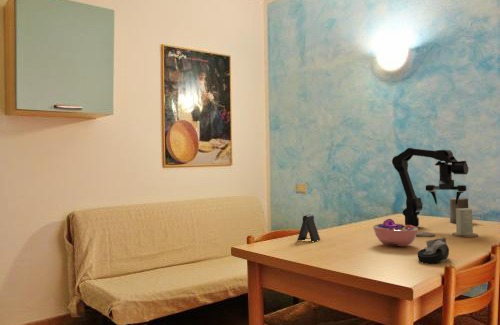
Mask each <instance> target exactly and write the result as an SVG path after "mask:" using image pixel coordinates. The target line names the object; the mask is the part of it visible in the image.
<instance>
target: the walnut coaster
mask: <svg viewBox="0 0 500 325" xmlns="http://www.w3.org/2000/svg"><path fill="white" fill-rule="evenodd" d="M452 236H453V237H457V238H467V239H468V238H477V237H479V235H478V233H474V232H473V235H459V234H457V231H456V232H452Z"/></svg>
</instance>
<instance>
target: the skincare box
mask: <svg viewBox="0 0 500 325" xmlns="http://www.w3.org/2000/svg"><path fill="white" fill-rule="evenodd" d="M455 224H456V225H455V226H456V232H457V234H459V235H473V233H474V229H473V228H474V227H473V226H474V225H473V224H474V223H473V209H472V208H469V207H468V208H457V209H456V223H455Z"/></svg>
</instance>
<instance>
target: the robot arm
mask: <svg viewBox="0 0 500 325" xmlns="http://www.w3.org/2000/svg"><path fill="white" fill-rule="evenodd" d="M414 156H417V157H424V158H426V157H427V158H432V159H434V160H437V162H436V163H435V164H434V165H435V166H438V167H439V172H438V173H439V180H438V185H436V184H427V185H425V191H426V192H427V191H428V193H430V194H431V196H432V197H433V201H434V203H435V205H438V199H437V190H438V191H439V190H443V191H444V190H445V191H448V190H450V191H453V190H454V191H456V197H455V198H456V205H457V202H458V199H459V198H460V196H461V194H463V193H464V192H467V191H468V190H467V188H468V187H467V185H466V184H457V185H455V179H453V176H452V175H467V174H468V173H469V166H468V163H467V160H459V161H458V160H457V159H456V157H455V156H454V153H453V152H452V150H450V149H438V150H435V149H434V150H433V149H432V150H431V149H423V148H414V147H408V148H406V149H405V150H404V151H402V152H400V153H399V154H397V155H395V156H394V157H393V158H392V160H391V163H392V165H393V168H394V170H396V171H397V173H398V175H399V178H400V182H401V184H402V187H403V190H404V194H405V197H406V198H405V199H406V200H405V206H406V208H405V209H403V211H402V215H403V216H404V225H412V226H415V227H417V228H418V227H419V226H420V218H419V216H418V215H420V212H421V211H422V210H423V205H424V204H423V201H422V198H421V197H418V196H417V195H416V193H415V192H416V191H415V189H414V187H413V184H412V180H411V177H410V174H409V169H408V168H409V163H408V161H410V160H411V159H412V158H413V157H414ZM452 173H453V174H452Z"/></svg>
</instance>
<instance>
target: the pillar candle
mask: <svg viewBox="0 0 500 325" xmlns="http://www.w3.org/2000/svg"><path fill="white" fill-rule="evenodd" d="M457 208H469V198H467V197H459V199H458V202H457V205H456V197H450V198H449V223H451V224H456V209H457Z"/></svg>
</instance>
